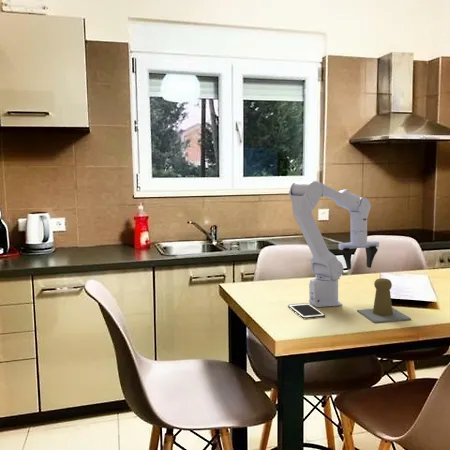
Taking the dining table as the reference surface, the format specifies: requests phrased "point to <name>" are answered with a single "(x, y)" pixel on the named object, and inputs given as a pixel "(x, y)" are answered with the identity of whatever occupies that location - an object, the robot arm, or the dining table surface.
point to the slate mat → (377, 319)
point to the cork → (383, 297)
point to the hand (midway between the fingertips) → (358, 267)
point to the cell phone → (306, 310)
